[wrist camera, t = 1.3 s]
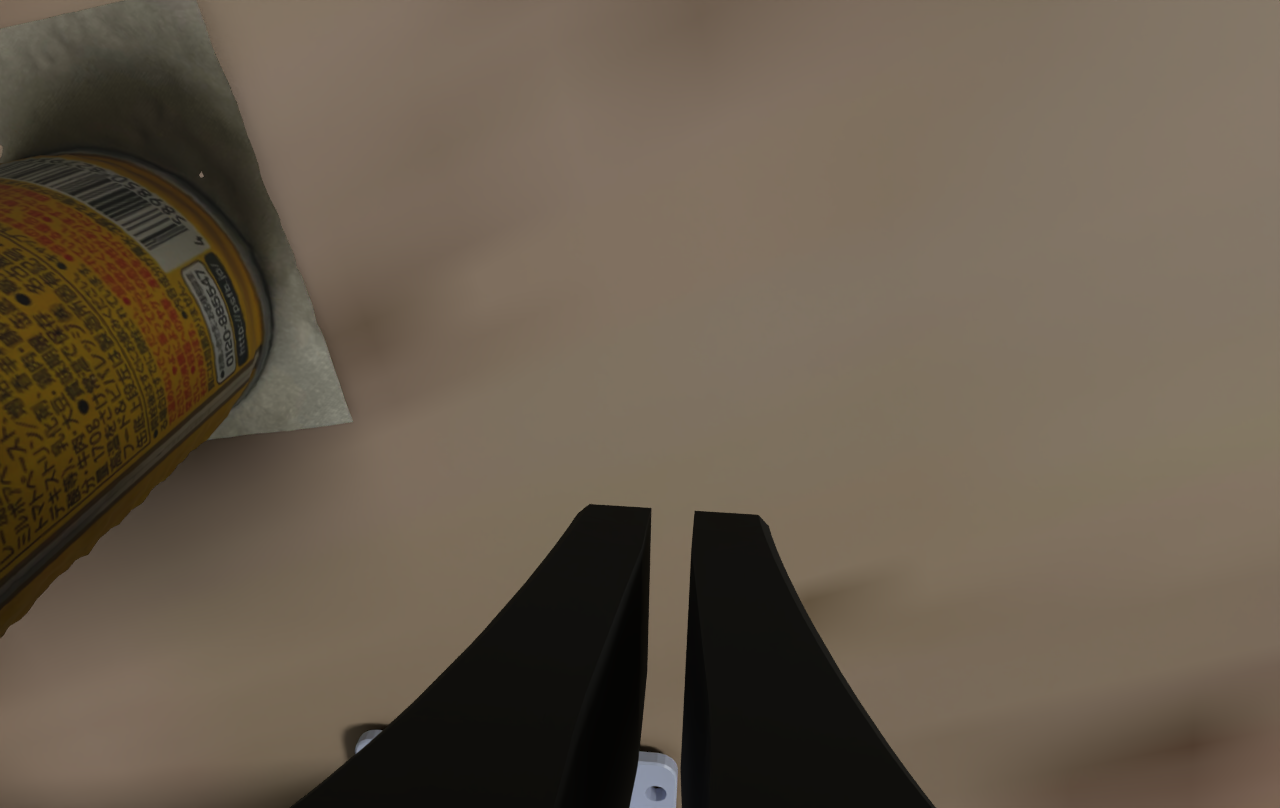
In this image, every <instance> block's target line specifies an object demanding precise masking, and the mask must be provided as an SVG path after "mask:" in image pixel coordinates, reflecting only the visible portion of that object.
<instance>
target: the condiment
mask: <svg viewBox="0 0 1280 808" xmlns="http://www.w3.org/2000/svg"><path fill="white" fill-rule="evenodd" d="M0 145H2V146H3V152H2V157H1V159H0V638H1V637H2V636H3V635H4V634H5V632H6V630H7V629H8V627H9V626H10V625H12V624H14V623H15V622H17V621H19V620H20V619H21V618H22V617H23V616H24V615H25V614H26V613H27V612H28V611H29V610H30V608H31V607H32V605H33V604H34V602H35V601H36V599H37V598H38V597H39V596H40V595H41V594H42V593H43V592H44V591H45V590H46V589H47V588H48V586H49V585H50V584H51V583H52V582H53V581H54V580H55V579H56V578H57V577H58V576H59V575H61V574H62V573H64V572H65V571H66V570H68V569H69V567H70V566H71V565H72V564H73V562H74V561H75V560H77V559H79V558H80V557H82V556H85V555H88V554H89V553H90V551H91V550H92V548H93V547H94V546H95V544H96V543H97V541H98V540H99V539H100V538H101V537H102V536H103V535H104V534H106V533H107V532H108V531H109V530H110V529H111V528H113V527H115V526H117V525H119V524H120V523H121V522H122V520H123V519H124V518H125V517H126V516H127V515H128V513H129V512H130V511H131V510H132V509H134V508H135V507H137V506H138V505H140V504H141V503H143V502H144V500H145V499H146V497H147V496H148V495H149V493H150V491H151V490H152V489H153V488H154V487H155V486H156V485H158V484H159V483H160V482H162V481H164V480H165V479H166V478H167V477H168V476H170V474H171V473H172V472H173V471H174V469H175V468H176V467H177V465H178V464H179V463H181V462H183V461H184V459H185V458H186V457H187V456H188V454H189V453H190V452H191V451H192V450H194V449H196V448H197V447H198V446H199V445H200V444H202V443H203V442H205V441H206V440H211V439H218V438H228V437H234V436H240V435H249V434H256V433H271V432H279V431H292V430H297V429H306V428H315V427H322V426H329V425H336V424H342V423H349V422H353V421H352V418H351V415H350V412H349V410H348V407H347V404H346V402H345V399H344V396H343V392H342V389H341V387H340V384H339V381H338V378H337V375H336V372H335V369H334V366H333V363H332V360H331V357H330V354H329V351H328V348H327V345H326V342H325V339H324V337H323V334H322V332H321V330H320V328H319V326H318V325H317V321H316V318H315V313H314V309H313V306H312V303H311V300H310V297H309V295H308V292H307V289H306V286H305V283H304V280H303V278H302V276H301V274H300V272H299V270H298V269H297V267H296V261H295V257H294V254H293V252H292V249H291V247H290V245H289V243H288V240H287V238H286V235H285V233H284V231H283V229H282V226H281V223H280V219H279V216H278V213H277V211H276V209H275V207H274V206H273V204H272V202H271V200H270V198H269V196H268V193H267V191H266V188H265V186H264V184H263V181H262V178H261V175H260V171H259V166H258V163H257V160H256V156H255V154H254V151H253V148H252V146H251V144H250V141H249V139H248V136H247V133H246V130H245V127H244V123H243V120H242V117H241V114H240V111H239V108H238V105H237V102H236V100H235V98H234V96H233V93H232V91H231V88H230V86H229V83H228V81H227V79H226V77H225V74H224V72H223V70H222V68H221V66H220V64H219V61H218V59H217V57H216V55H215V52H214V50H213V48H212V45H211V42H210V39H209V35H208V32H207V29H206V25H205V23H204V20H203V17H202V15H201V12H200V9H199V7H198V4H197V1H196V0H124V1H120V2H116V3H111V4H107V5H103V6H98V7H94V8H89V9H85V10H81V11H78V12H72V13H67V14H62V15H59V16H55V17H50V18H47V19H43V20H38V21H33V22H28V23H24V24H19V25H15V26H10V27H6V28H2V29H0ZM201 171H202V173H203V175H204V177H202V178H201V177H200V176H199V174H200V173H201Z"/></svg>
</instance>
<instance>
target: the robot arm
mask: <svg viewBox="0 0 1280 808" xmlns="http://www.w3.org/2000/svg"><path fill="white" fill-rule="evenodd" d="M650 542H651V508H641V507H626V506H610V505H594V504H589V505H588V506H587V507H585V508H584V509H583V510H582V511H580V512H579V513H578V514H577V516H576V517H575V518H574V520H573V521H572V523H571V524H570V526H569V527H568V528H567V530H566V531H565V533H564V534H563V535H562V537H561V538H560V539H559V541H558V542H557V543H556V545H555V546H554V547H553V549H552V550H551V551H550V553H549V554H548V555H547V556H546V558H545V559H544V560H543V561H542V563H541V564H540V565H539V566H538V568H537V569H536V570H535V571H534V573H533V574H532V575H531V576H530V578H529V579H528V580H527V581H526V583H525V584H524V585H523V586H522V587H521V588H520V590H519V591H518V592H517V593H516V594H515V595H514V596H513V598H512V599H511V600H510V601H509V602H508V603H507V604H506V606H505V607H504V608H503V609H502V610H501V611H500V612H499V614H498V615H497V616H496V617H495V618H494V619H493V620H492V622H491V623H490V624H489V625H488V626H487V627H486V628H485V630H484V631H483V632H482V633H481V634H480V635H479V636H478V637H477V638H476V639H475V640H474V641H473V643H472V644H471V645H470V646H469V647H468V648H467V649H466V650H465V651H464V652H463V653H462V654H461V655H460V656H459V657H458V658H457V659H456V660H455V661H454V662H453V663H452V664H451V665H450V666H449V667H448V668H447V669H446V670H445V671H444V672H443V673H442V674H441V675H440V676H439V677H438V678H437V679H436V680H435V681H434V682H433V683H432V684H431V685H430V686H429V687H428V688H427V689H426V690H425V691H424V692H423V693H422V694H421V695H420V696H419V697H418V698H417V699H416V700H415V701H414V702H413V703H412V704H411V705H410V706H409V707H408V708H407V709H405V710H404V711H403V712H402V713H401V714H400V715H399V716H398V717H397V718H396V719H395V720H394V721H392V722H391V723H390V724H389V725H388V726H387V727H386V728H385V729H384V730H369V731H367V732H364V733H363V734H362V735H361V737H360V738H359V740H358V743H357V745H356V747H355V755H354V756H353V757H352V758H350V759H349V760H348V761H347V762H346V763H344V764H343V765H342V766H341V767H340V768H339V769H337V770H336V771H335V772H334V773H333V774H331V775H330V776H329V777H328V778H327V779H326V780H324V781H323V782H322V783H321V784H319V785H318V786H317V787H316V788H314V789H313V790H312V791H311V792H309V793H308V794H307V795H305V796H304V797H303V798H301V799H300V800H299V801H298V802H296V803H295V804H294V805H292V806H291V807H290V808H676V796H677V775H678V768H677V764H676V762H675V761H674V760H673V759H672V758H671V757H669V756H667V755H665V754H661V753H654V752H642V751H639V750H640V740H641V730H642V720H643V709H644V699H645V689H646V678H647V660H648V620H649V581H650ZM651 786H658V787H662V788H654V787H651ZM681 796H682V808H936V807H935V806H934V805H933V804H932V802H931V801H930V800H929V799H928V797H927V796H926V795H925V793H924V792H923V791H922V789H921V788H920V787H919V785H918V784H917V783H916V781H915V780H914V779H913V777H912V776H911V775H910V773H909V772H908V771H907V769H906V768H905V767H904V765H903V764H902V762H901V761H900V760H899V758H898V757H897V755H896V754H895V753H894V751H893V750H892V749H891V747H890V746H889V744H888V743H887V741H886V740H885V738H884V737H883V735H882V734H881V733H880V731H879V730H878V728H877V727H876V725H875V724H874V722H873V721H872V719H871V718H870V716H869V715H868V713H867V712H866V710H865V709H864V707H863V706H862V705H861V703H860V701H859V700H858V698H857V697H856V695H855V694H854V692H853V690H852V689H851V687H850V686H849V684H848V683H847V681H846V679H845V678H844V676H843V675H842V673H841V671H840V670H839V668H838V666H837V664H836V663H835V661H834V659H833V658H832V656H831V654H830V652H829V651H828V649H827V647H826V646H825V644H824V642H823V640H822V639H821V637H820V635H819V634H818V632H817V630H816V628H815V627H814V625H813V623H812V621H811V619H810V618H809V616H808V614H807V612H806V610H805V608H804V606H803V605H802V603H801V601H800V599H799V597H798V595H797V593H796V591H795V588H794V586H793V584H792V582H791V580H790V578H789V576H788V574H787V572H786V570H785V568H784V565H783V563H782V561H781V559H780V556H779V554H778V551H777V549H776V546H775V544H774V541H773V538H772V535H771V532H770V529H769V526H768V525H767V524H766V523H765V522H764V521H763V519H762V518H761V517H760V516H759V515H752V514H736V513H720V512H705V511H695V514H694V525H693V537H692V549H691V569H690V590H689V610H688V630H687V650H686V671H685V691H684V711H683V732H682V752H681Z"/></svg>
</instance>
